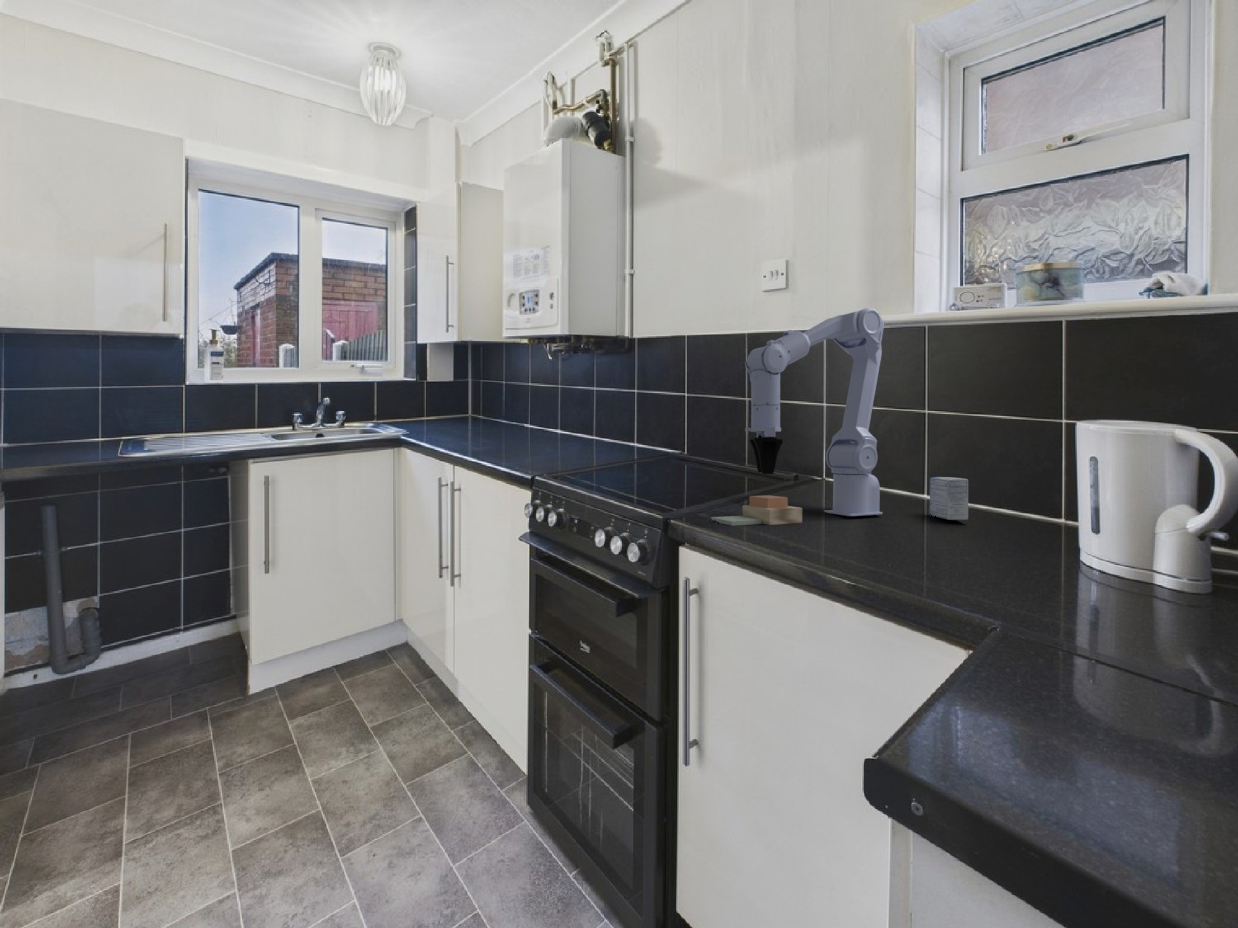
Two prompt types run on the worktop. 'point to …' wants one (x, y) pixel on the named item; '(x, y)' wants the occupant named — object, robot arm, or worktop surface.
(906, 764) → the worktop surface
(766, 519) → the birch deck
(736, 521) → the sage mat
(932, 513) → the medicine box
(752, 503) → the terracotta block
